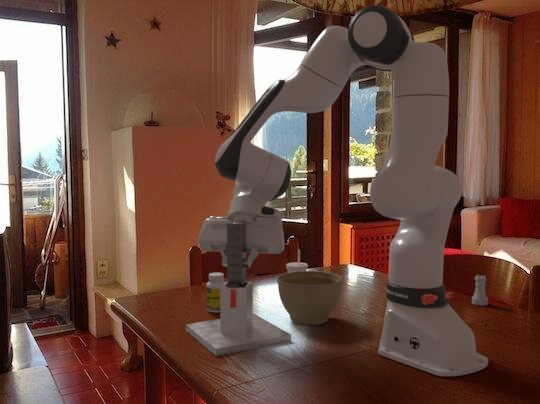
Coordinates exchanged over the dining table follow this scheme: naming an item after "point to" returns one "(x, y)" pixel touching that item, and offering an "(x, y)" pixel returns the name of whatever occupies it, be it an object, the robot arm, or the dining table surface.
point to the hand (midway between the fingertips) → (236, 265)
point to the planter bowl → (309, 295)
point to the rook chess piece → (480, 291)
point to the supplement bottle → (214, 292)
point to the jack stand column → (236, 253)
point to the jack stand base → (236, 324)
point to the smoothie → (296, 265)
